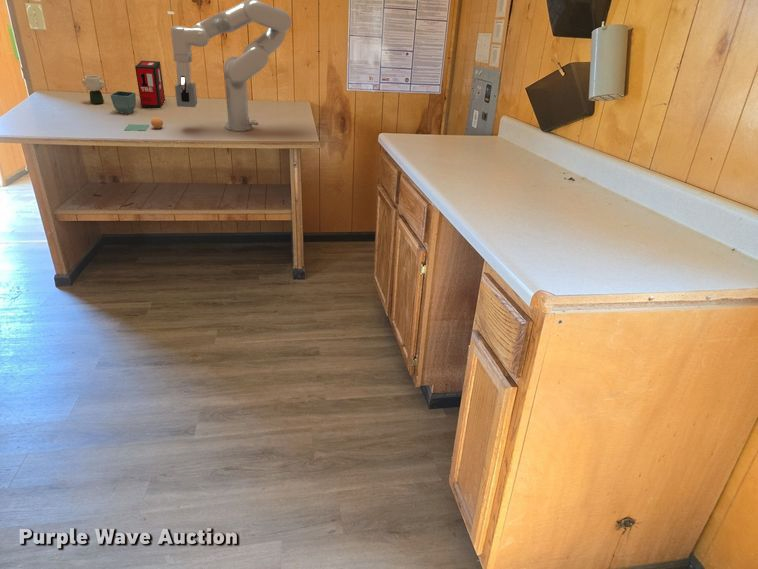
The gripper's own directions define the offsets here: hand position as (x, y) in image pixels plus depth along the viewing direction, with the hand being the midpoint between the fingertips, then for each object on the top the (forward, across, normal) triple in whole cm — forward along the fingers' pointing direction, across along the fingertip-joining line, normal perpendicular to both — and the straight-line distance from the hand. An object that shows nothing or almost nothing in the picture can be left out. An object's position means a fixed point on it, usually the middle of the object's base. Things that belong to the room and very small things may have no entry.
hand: (186, 99), depth 237 cm
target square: (+14, 0, -23) cm, 27 cm away
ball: (+11, 0, -14) cm, 18 cm away
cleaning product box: (+14, -43, -23) cm, 51 cm away
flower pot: (+14, -26, -33) cm, 44 cm away
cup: (+3, 0, 0) cm, 3 cm away
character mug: (+14, -42, -50) cm, 67 cm away
